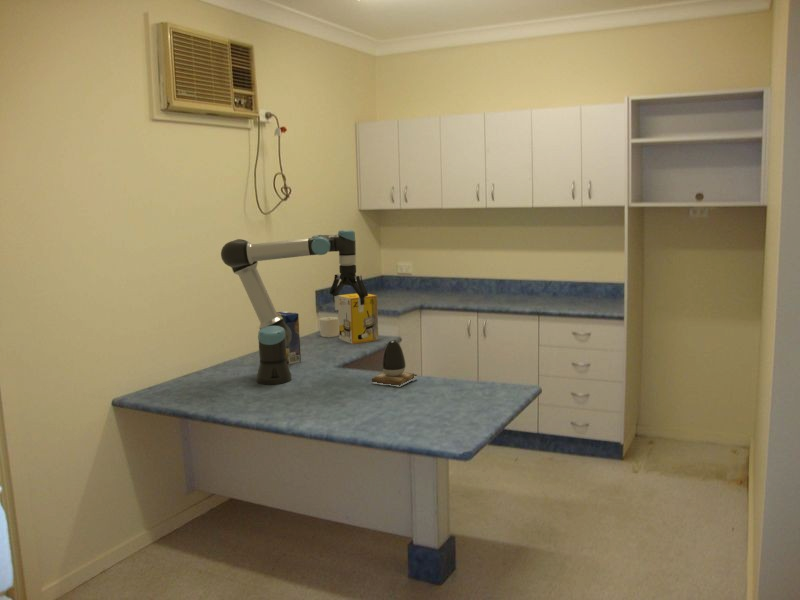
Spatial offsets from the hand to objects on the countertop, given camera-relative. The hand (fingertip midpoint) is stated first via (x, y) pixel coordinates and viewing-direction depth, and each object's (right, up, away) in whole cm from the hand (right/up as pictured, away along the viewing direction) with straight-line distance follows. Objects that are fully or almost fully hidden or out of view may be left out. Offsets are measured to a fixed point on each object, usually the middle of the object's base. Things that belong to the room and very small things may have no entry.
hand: (349, 310), depth 332 cm
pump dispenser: (+21, -28, -18) cm, 39 cm away
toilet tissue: (-17, -16, +89) cm, 92 cm away
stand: (+21, -30, -18) cm, 41 cm away
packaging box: (0, -17, +75) cm, 77 cm away
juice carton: (-32, -25, +27) cm, 49 cm away
